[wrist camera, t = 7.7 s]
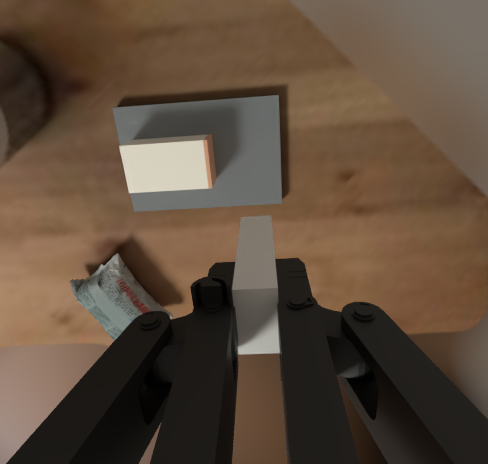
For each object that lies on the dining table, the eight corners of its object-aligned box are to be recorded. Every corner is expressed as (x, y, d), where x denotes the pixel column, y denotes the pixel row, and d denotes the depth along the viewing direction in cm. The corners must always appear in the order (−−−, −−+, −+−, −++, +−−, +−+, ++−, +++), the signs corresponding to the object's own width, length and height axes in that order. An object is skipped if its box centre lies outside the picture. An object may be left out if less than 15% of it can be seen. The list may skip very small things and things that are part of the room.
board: (137, 208, 43) (134, 211, 42) (116, 107, 38) (112, 107, 37) (281, 200, 42) (282, 203, 41) (278, 94, 37) (278, 95, 36)
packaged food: (124, 244, 46) (108, 263, 41) (176, 309, 49) (168, 332, 45) (76, 273, 48) (56, 293, 43) (130, 332, 52) (117, 356, 47)
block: (216, 178, 40) (141, 183, 41) (211, 134, 38) (132, 139, 39) (212, 188, 36) (129, 193, 37) (206, 139, 34) (119, 145, 35)
